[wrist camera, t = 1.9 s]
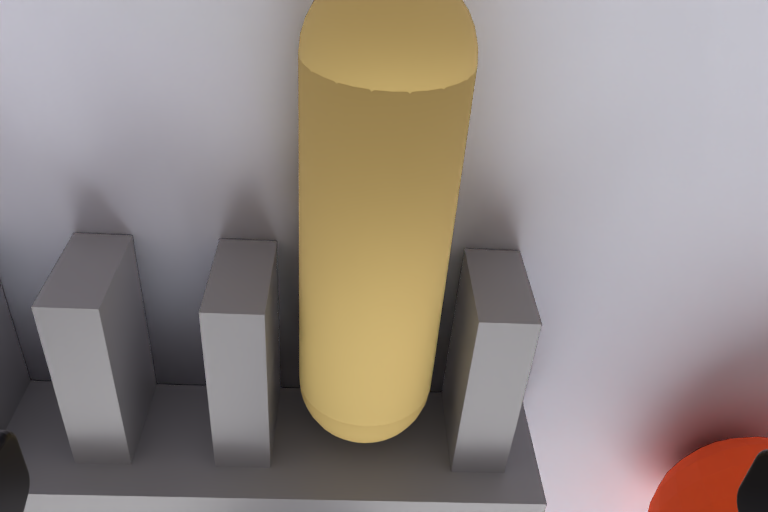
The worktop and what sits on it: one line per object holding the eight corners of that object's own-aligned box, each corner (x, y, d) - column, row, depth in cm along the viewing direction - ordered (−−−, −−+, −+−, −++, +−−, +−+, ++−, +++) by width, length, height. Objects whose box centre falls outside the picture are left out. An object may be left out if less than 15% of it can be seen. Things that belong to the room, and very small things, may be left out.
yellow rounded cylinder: (420, 376, 23) (429, 473, 20) (303, 373, 22) (294, 470, 19) (478, -55, 15) (505, -4, 12) (304, -66, 15) (290, -17, 12)
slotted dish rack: (510, 437, 24) (537, 566, 20) (-287, 416, 23) (-415, 552, 19) (556, 251, 20) (601, 374, 16) (-427, 212, 18) (-629, 337, 15)
